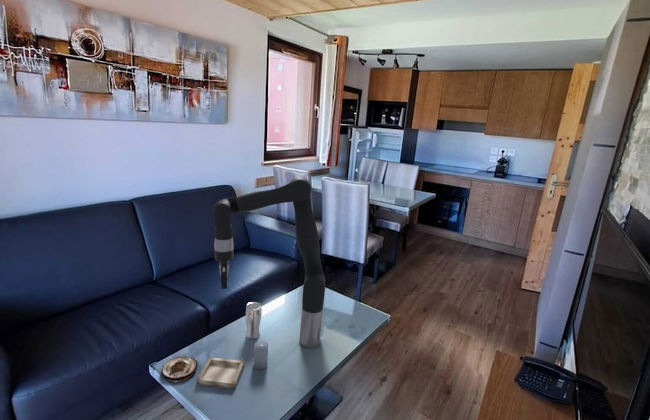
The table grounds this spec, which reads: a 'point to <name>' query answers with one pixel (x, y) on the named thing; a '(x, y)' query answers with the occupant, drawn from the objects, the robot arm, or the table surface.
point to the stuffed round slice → (179, 368)
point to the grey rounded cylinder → (260, 355)
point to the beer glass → (253, 319)
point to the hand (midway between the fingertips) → (224, 283)
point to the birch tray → (220, 373)
